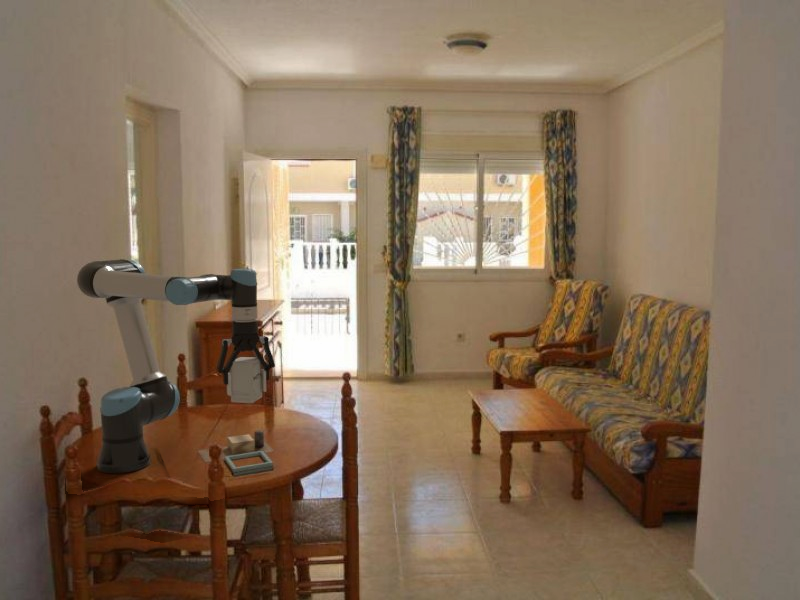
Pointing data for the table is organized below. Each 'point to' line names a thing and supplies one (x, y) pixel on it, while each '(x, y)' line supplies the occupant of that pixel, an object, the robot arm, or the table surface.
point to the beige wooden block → (240, 444)
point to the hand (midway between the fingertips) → (246, 392)
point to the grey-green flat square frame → (249, 467)
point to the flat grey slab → (258, 446)
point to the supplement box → (246, 380)
